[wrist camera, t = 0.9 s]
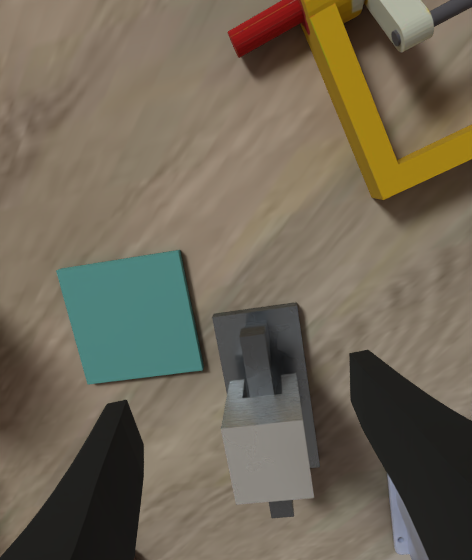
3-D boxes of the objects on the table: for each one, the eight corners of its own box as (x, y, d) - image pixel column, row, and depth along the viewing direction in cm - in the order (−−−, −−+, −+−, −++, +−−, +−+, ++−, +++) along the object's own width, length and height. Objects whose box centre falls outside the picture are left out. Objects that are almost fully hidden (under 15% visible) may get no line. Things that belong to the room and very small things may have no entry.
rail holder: (318, 460, 32) (328, 513, 27) (243, 467, 33) (238, 520, 28) (296, 302, 29) (302, 329, 24) (213, 313, 30) (202, 342, 25)
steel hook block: (305, 438, 29) (314, 498, 23) (241, 444, 29) (236, 504, 24) (296, 373, 28) (302, 420, 22) (229, 380, 28) (220, 428, 23)
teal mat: (203, 366, 31) (202, 370, 30) (90, 380, 32) (87, 384, 31) (180, 249, 29) (178, 251, 28) (60, 268, 30) (56, 270, 29)
